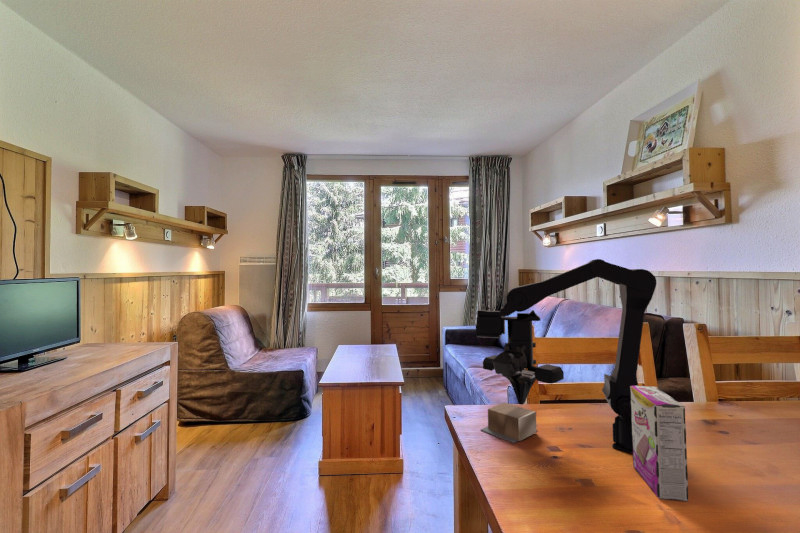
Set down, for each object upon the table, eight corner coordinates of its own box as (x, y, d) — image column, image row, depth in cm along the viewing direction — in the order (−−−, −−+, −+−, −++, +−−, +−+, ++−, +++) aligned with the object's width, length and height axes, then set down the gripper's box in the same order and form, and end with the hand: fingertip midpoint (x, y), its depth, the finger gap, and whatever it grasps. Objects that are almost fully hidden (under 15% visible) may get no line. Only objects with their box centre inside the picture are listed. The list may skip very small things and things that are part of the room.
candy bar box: (631, 467, 76) (628, 384, 76) (659, 469, 75) (656, 385, 75) (657, 500, 65) (654, 403, 65) (690, 503, 64) (687, 405, 64)
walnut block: (535, 411, 92) (504, 402, 99) (519, 419, 88) (487, 408, 94) (536, 432, 92) (504, 421, 99) (520, 440, 87) (488, 429, 94)
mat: (537, 430, 94) (537, 429, 94) (514, 443, 87) (514, 441, 87) (504, 420, 101) (504, 418, 101) (480, 430, 94) (480, 429, 94)
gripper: (468, 338, 93) (469, 402, 93) (538, 349, 79) (540, 424, 79) (495, 333, 101) (496, 392, 100) (564, 342, 86) (565, 411, 86)
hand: (521, 403), depth 91 cm, fingers closed
